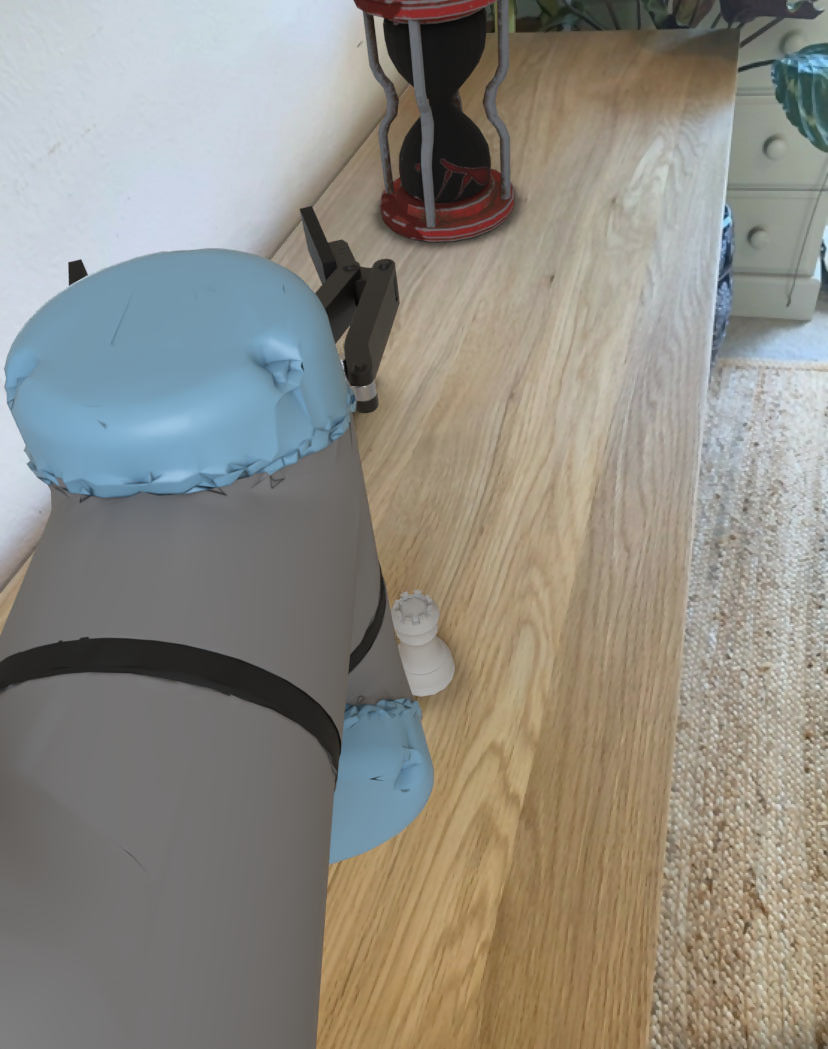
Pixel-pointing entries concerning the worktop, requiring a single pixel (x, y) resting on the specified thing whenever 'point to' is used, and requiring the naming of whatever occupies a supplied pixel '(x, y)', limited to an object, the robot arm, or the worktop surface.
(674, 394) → the worktop surface
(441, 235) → the hourglass
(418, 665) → the rook chess piece
